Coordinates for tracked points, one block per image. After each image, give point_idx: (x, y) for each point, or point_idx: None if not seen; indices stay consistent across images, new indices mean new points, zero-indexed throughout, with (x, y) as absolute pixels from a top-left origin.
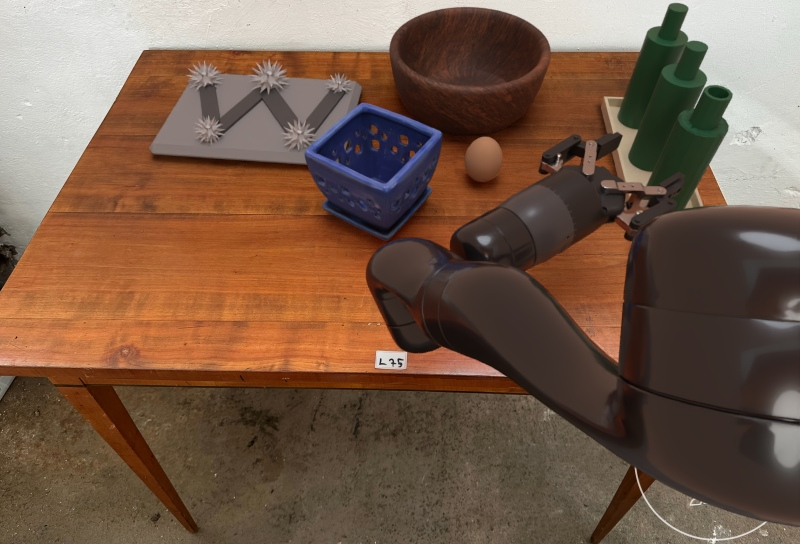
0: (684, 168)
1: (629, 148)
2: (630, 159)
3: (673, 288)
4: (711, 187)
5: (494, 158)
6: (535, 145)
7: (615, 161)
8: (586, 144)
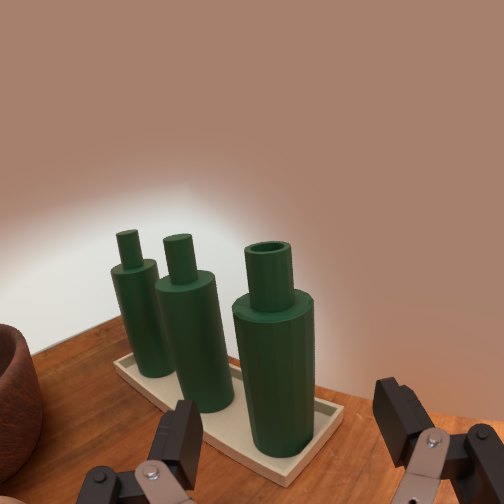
0: (300, 376)
1: (180, 398)
2: None
3: None
4: None
5: None
6: (77, 459)
7: None
8: (141, 484)
